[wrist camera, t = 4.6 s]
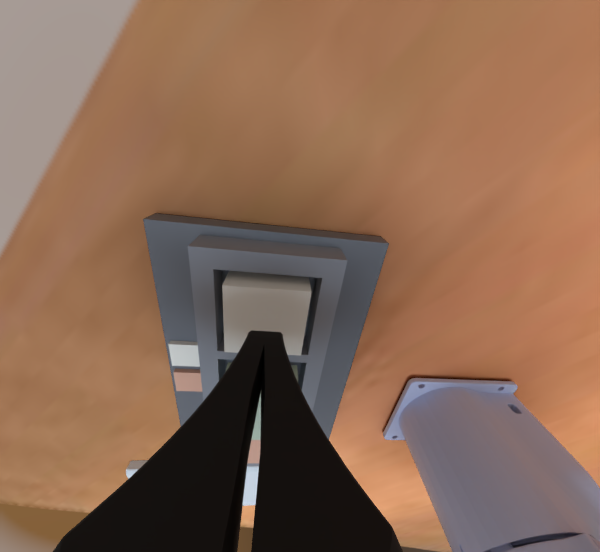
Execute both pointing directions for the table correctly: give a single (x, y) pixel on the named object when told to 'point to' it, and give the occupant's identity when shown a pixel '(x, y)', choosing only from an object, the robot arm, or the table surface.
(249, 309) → the key
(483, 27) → the table surface
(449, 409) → the robot arm
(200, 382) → the grey compartment tray
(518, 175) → the table surface
